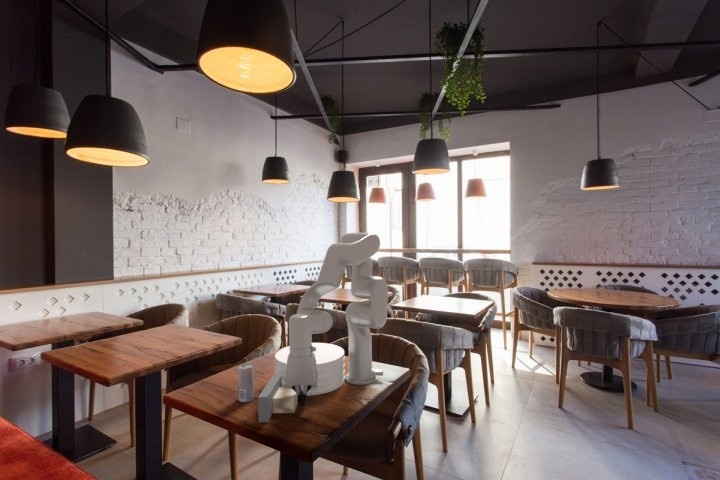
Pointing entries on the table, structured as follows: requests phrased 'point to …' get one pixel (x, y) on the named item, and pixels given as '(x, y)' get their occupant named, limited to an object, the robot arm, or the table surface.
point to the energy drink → (245, 383)
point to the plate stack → (318, 367)
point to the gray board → (268, 398)
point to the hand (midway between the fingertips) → (302, 404)
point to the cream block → (285, 401)
